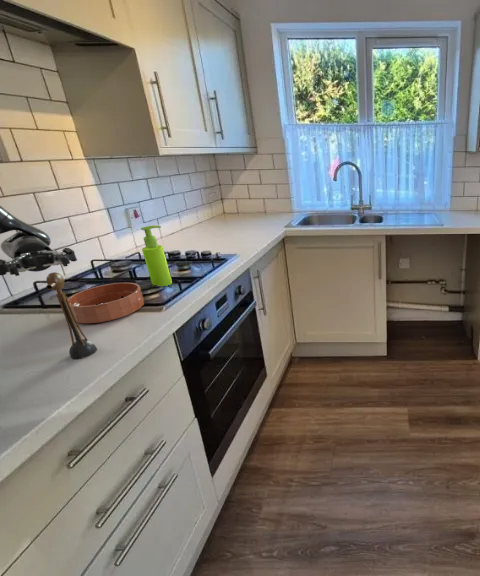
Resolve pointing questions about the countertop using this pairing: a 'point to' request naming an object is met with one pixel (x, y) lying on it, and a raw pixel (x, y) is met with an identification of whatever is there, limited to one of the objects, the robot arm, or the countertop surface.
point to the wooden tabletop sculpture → (70, 319)
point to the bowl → (106, 302)
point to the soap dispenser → (155, 259)
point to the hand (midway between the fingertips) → (41, 266)
